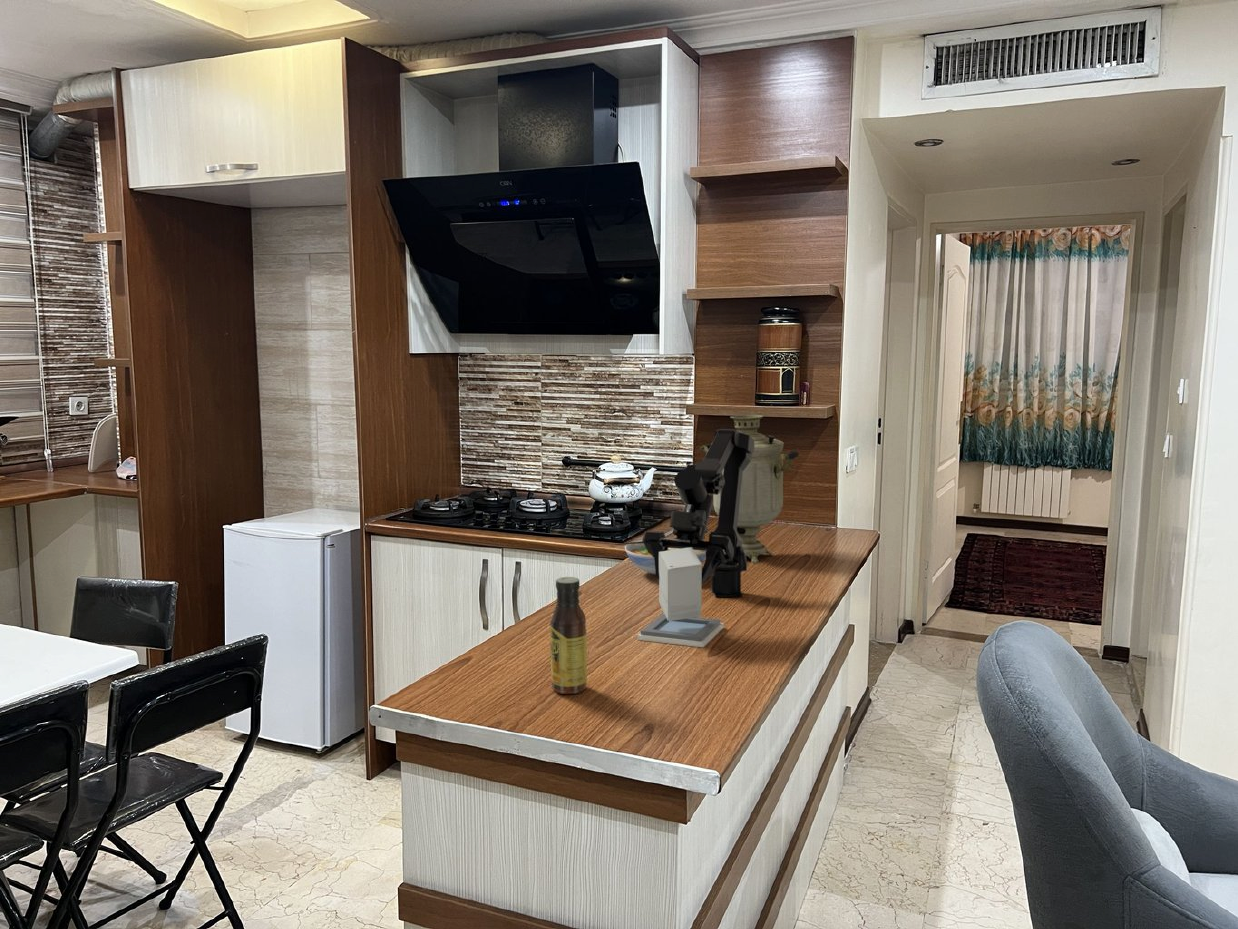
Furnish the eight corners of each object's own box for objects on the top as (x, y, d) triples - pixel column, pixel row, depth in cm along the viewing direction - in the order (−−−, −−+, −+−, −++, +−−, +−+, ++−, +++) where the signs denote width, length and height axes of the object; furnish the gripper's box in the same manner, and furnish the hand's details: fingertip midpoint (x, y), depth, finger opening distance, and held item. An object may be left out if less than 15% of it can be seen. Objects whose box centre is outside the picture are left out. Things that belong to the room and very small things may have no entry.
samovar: (826, 558, 259) (828, 415, 254) (756, 572, 244) (757, 420, 239) (753, 541, 283) (754, 410, 278) (686, 553, 269) (685, 415, 264)
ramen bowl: (634, 589, 229) (634, 556, 228) (610, 568, 251) (610, 538, 250) (728, 581, 236) (728, 549, 235) (697, 561, 258) (697, 532, 257)
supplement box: (702, 617, 190) (702, 564, 185) (667, 622, 189) (666, 569, 184) (692, 597, 197) (692, 546, 191) (658, 602, 196) (657, 550, 190)
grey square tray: (661, 621, 202) (661, 613, 202) (723, 627, 197) (723, 619, 196) (637, 639, 189) (637, 631, 189) (703, 647, 184) (703, 638, 184)
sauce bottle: (551, 683, 165) (548, 574, 162) (586, 682, 165) (584, 573, 163) (551, 697, 158) (549, 584, 156) (588, 696, 159) (586, 582, 156)
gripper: (644, 493, 197) (625, 555, 188) (730, 497, 189) (714, 562, 181) (658, 522, 205) (640, 583, 196) (740, 528, 198) (726, 591, 189)
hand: (679, 580), depth 190 cm, fingers closed on supplement box, 9 cm apart
